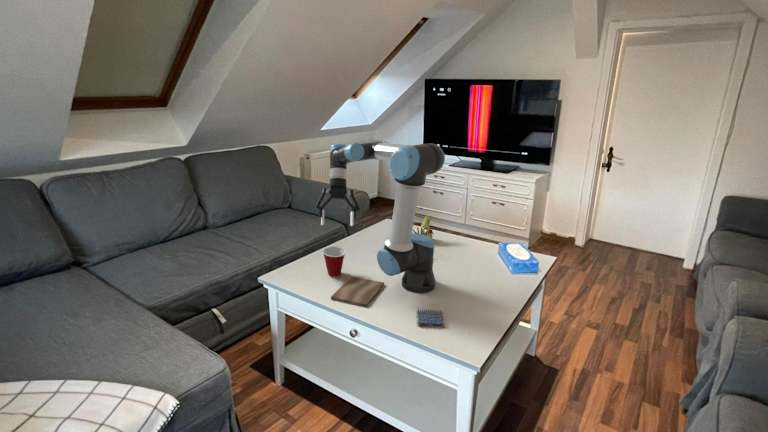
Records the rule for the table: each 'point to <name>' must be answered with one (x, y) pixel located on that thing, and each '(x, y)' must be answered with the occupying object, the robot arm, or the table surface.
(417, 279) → the robot arm
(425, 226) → the chocolate bunny
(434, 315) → the woven mat
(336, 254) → the plastic cup
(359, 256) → the table surface
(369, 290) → the walnut board
